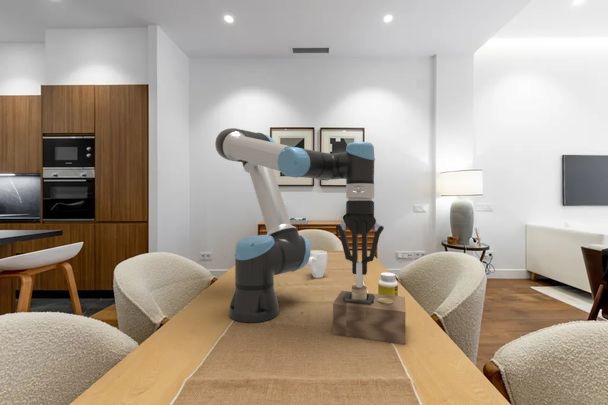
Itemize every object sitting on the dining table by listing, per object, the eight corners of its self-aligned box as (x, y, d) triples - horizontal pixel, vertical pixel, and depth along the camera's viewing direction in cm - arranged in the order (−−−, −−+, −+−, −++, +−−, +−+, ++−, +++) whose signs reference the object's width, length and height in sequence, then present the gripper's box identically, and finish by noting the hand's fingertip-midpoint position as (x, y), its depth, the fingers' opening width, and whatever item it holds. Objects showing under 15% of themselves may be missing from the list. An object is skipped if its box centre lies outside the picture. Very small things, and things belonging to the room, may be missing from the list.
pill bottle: (398, 311, 97) (398, 276, 97) (378, 310, 98) (378, 275, 98) (396, 305, 103) (397, 272, 103) (377, 303, 104) (378, 271, 104)
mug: (314, 273, 145) (314, 249, 145) (330, 276, 141) (330, 251, 141) (301, 279, 135) (301, 253, 135) (318, 282, 131) (318, 255, 130)
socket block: (332, 334, 81) (333, 301, 81) (341, 317, 92) (341, 288, 92) (405, 344, 75) (405, 309, 75) (404, 325, 87) (404, 294, 87)
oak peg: (350, 317, 83) (350, 288, 83) (352, 312, 87) (352, 284, 87) (365, 319, 82) (365, 289, 82) (367, 314, 86) (367, 285, 86)
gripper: (333, 199, 83) (333, 287, 83) (384, 199, 79) (383, 292, 79) (338, 199, 90) (338, 280, 90) (385, 199, 86) (384, 284, 86)
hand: (359, 286), depth 84 cm, fingers closed
